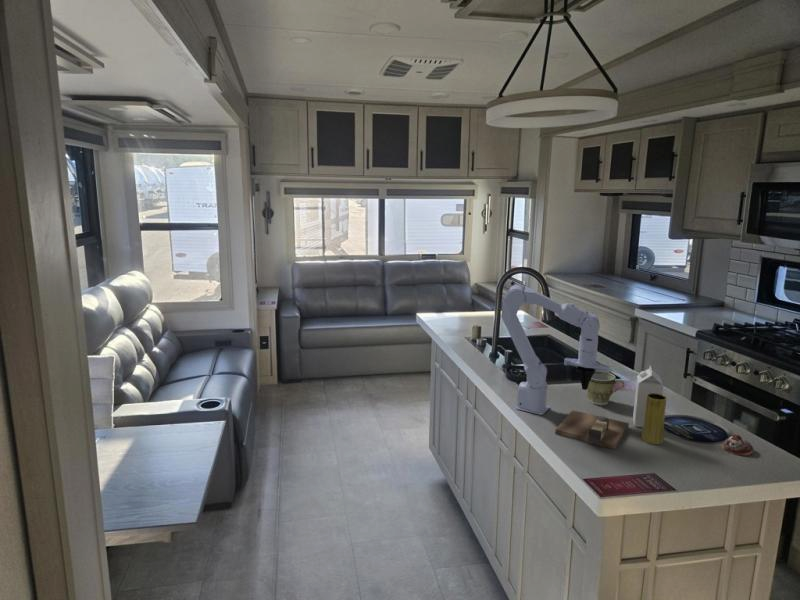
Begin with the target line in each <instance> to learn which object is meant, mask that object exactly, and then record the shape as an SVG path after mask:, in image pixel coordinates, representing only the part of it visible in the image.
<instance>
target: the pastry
mask: <svg viewBox="0 0 800 600" xmlns="http://www.w3.org/2000/svg"><path fill="white" fill-rule="evenodd" d="M721 447H722V449H723V450H724V451H725V452H727V453H729V454H732V455H735V456H739V457H751V456H753V455H754V452H755V450H754V447H753V445H752V443H750V442H749V441H748V440H746V439H744V438H743V437H742V436H740V435H739V434H736V433H732V434H731V436H730V437H728V438H727V439H725V440H724V441H723V442H722V443H721Z"/></svg>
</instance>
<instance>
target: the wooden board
mask: <svg viewBox="0 0 800 600" xmlns="http://www.w3.org/2000/svg"><path fill="white" fill-rule="evenodd" d="M599 416H600V415H595V414H591V413H587V412H582V411H577V410H575V409H572V410H571V411H570V412H569V414H568V415H567V416H566V417H565V418H564V419H563V420H562V421H561V422H560V424H559V425H557V427H556V428H555V429H554V430H555V432H554V434H556V435H560V436H563V437H565V438H566V437H567V438H571V439H574V440H579V441H581V442H582V441H583V442H586V443H589V444H594V445H598V446H601V447H605V448H609V449H613V450H616V448H617V447H618V446H619V443H620V441H621V440H622V438H623V437H624V435H625V434H626V433H627V430H628V429H629V424H630V423H629V422H625V421H620V420H617V419H613V418H609V417H607V418H608V419H609V426H608V430H607V431H606V432H605V434H604V435H603V437H602V439H601V441H600V443H595V442H591V441H588V436H589V430H590V429H591V428H592V427H593V425H594V423H595V422H596V420H597V417H599Z"/></svg>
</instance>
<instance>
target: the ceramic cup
mask: <svg viewBox="0 0 800 600" xmlns="http://www.w3.org/2000/svg"><path fill="white" fill-rule="evenodd" d="M617 383H622V386H621V387H618V388H616V389H615V390H613V388H614V386H615V385H616V384H617ZM624 386H625V383H624V381H623V380H622V379H616V375H615V374H613V373H610V372H609V373H605V372H603V371H598V370H596V371H595V372H594V374H593V376H592V378H591V380H590V382H589V385H588V389H587V390H586V391H587V398H588V399H587V400H588V402H589V403H590V404H593V405H595V406H596V405H597V406H607V405H608V403H609V402H610V398H611V397H612V395H613V394H614V393H616V392H617V391H619V390H621V389H623V388H624Z"/></svg>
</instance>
